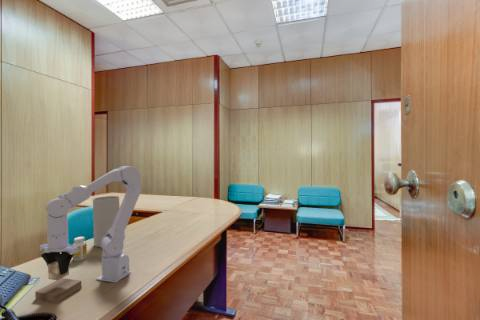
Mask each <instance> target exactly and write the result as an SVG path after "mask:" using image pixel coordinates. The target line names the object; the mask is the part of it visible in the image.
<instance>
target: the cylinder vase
mask: <svg viewBox="0 0 480 320" xmlns="http://www.w3.org/2000/svg"><path fill="white" fill-rule="evenodd" d="M119 208H120V196H118V195H109V196H107V195H105V196H98V197H95V198H93V199H92V216H93V218H92V219H93V221H92V222H93V246H95V247H97V248H101V246H100V242H101V239H102V238H103V237H104V236H105V235H106V234H107V231H108V230H109V229H110V228H111V227H112V225H113V222H114V220H115V218H116V215H117V213H118V210H119Z"/></svg>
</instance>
